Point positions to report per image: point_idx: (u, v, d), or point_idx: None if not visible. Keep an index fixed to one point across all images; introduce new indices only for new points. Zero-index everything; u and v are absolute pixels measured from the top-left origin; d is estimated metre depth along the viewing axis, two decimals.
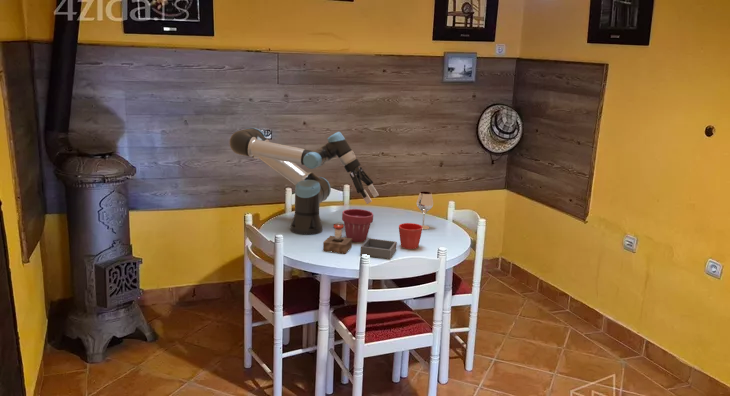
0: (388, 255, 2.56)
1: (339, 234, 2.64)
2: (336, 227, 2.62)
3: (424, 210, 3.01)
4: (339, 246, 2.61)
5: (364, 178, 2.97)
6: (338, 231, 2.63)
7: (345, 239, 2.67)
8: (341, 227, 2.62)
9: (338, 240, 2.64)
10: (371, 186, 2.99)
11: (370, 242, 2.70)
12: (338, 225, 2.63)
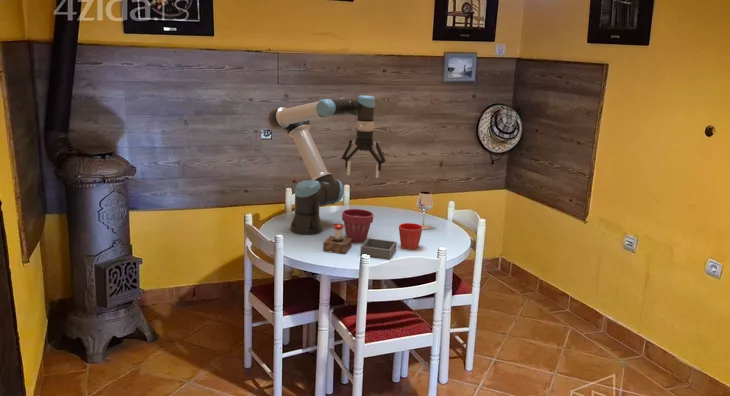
0: (388, 255, 2.56)
1: (339, 234, 2.64)
2: (336, 227, 2.62)
3: (424, 210, 3.01)
4: (339, 246, 2.61)
5: None
6: (338, 231, 2.63)
7: (345, 239, 2.67)
8: (341, 227, 2.62)
9: (338, 240, 2.64)
10: None
11: (370, 242, 2.70)
12: (338, 225, 2.63)
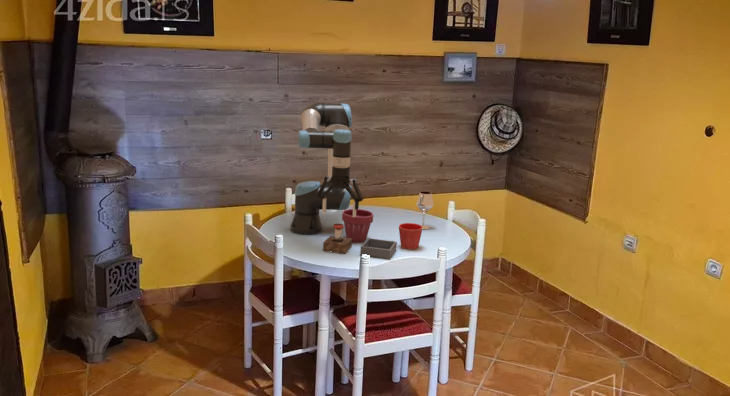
0: (388, 255, 2.56)
1: (339, 234, 2.64)
2: (336, 227, 2.62)
3: (424, 210, 3.01)
4: (339, 246, 2.61)
5: None
6: (338, 231, 2.63)
7: (345, 239, 2.67)
8: (341, 227, 2.62)
9: (338, 240, 2.64)
10: None
11: (370, 242, 2.70)
12: (338, 225, 2.63)
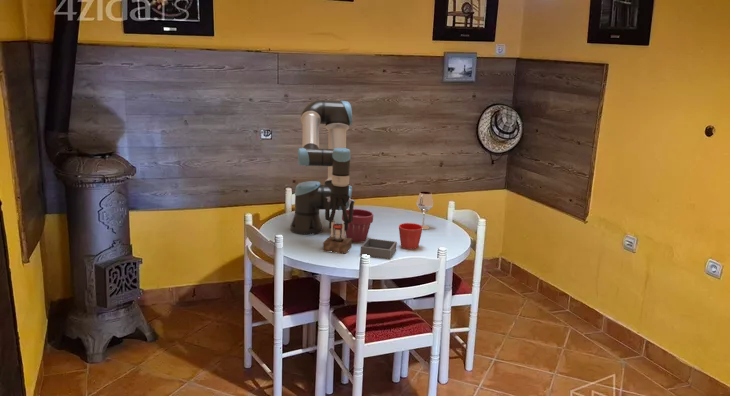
0: (388, 255, 2.56)
1: (339, 234, 2.64)
2: (336, 227, 2.62)
3: (424, 210, 3.01)
4: (339, 246, 2.61)
5: None
6: (338, 231, 2.63)
7: (345, 239, 2.67)
8: (341, 227, 2.62)
9: (338, 240, 2.64)
10: None
11: (370, 242, 2.70)
12: (338, 225, 2.63)
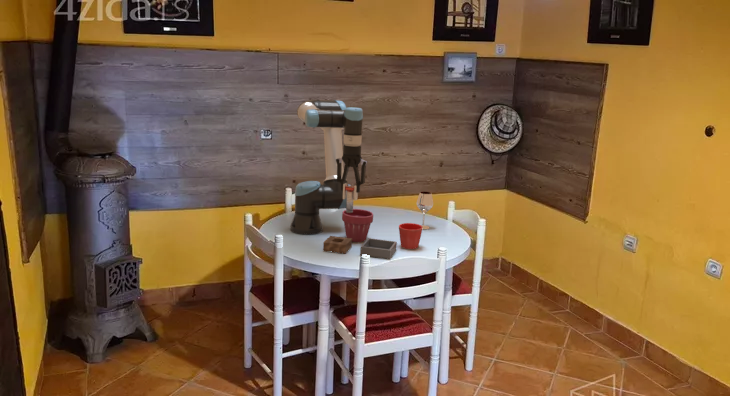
0: (388, 255, 2.56)
1: (351, 196, 2.58)
2: (348, 189, 2.57)
3: (424, 210, 3.01)
4: (339, 246, 2.61)
5: None
6: (350, 193, 2.58)
7: (345, 239, 2.67)
8: (353, 189, 2.57)
9: (350, 202, 2.59)
10: None
11: (370, 242, 2.70)
12: (350, 187, 2.58)
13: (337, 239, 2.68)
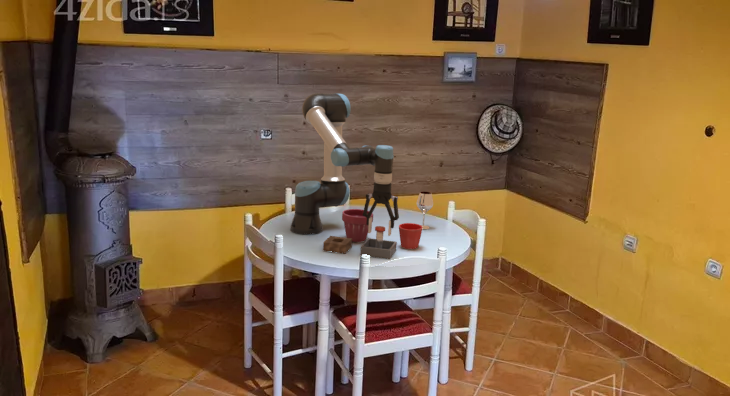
0: (388, 255, 2.56)
1: (381, 237, 2.61)
2: (378, 230, 2.60)
3: (424, 210, 3.01)
4: (339, 246, 2.61)
5: None
6: (380, 234, 2.61)
7: (345, 239, 2.67)
8: (383, 230, 2.60)
9: (380, 243, 2.62)
10: None
11: (370, 242, 2.70)
12: (380, 228, 2.61)
13: (337, 239, 2.68)
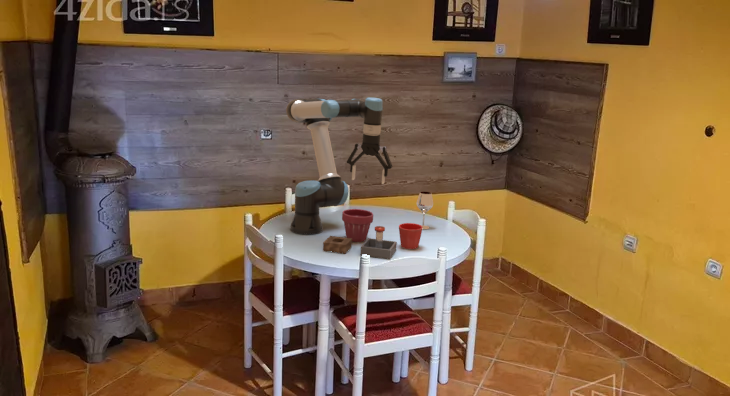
0: (388, 255, 2.56)
1: (380, 237, 2.61)
2: (378, 230, 2.60)
3: (424, 210, 3.01)
4: (339, 246, 2.61)
5: None
6: (379, 234, 2.61)
7: (345, 239, 2.67)
8: (383, 230, 2.60)
9: (379, 243, 2.62)
10: None
11: (370, 242, 2.70)
12: (379, 228, 2.61)
13: (337, 239, 2.68)
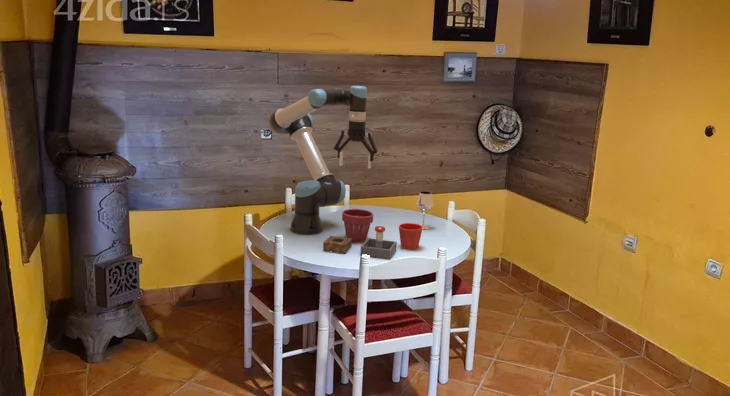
0: (388, 255, 2.56)
1: (381, 237, 2.61)
2: (378, 230, 2.60)
3: (424, 210, 3.01)
4: (339, 246, 2.61)
5: None
6: (380, 234, 2.61)
7: (345, 239, 2.67)
8: (383, 230, 2.60)
9: (379, 243, 2.62)
10: None
11: (370, 242, 2.70)
12: (380, 228, 2.61)
13: (337, 239, 2.68)
